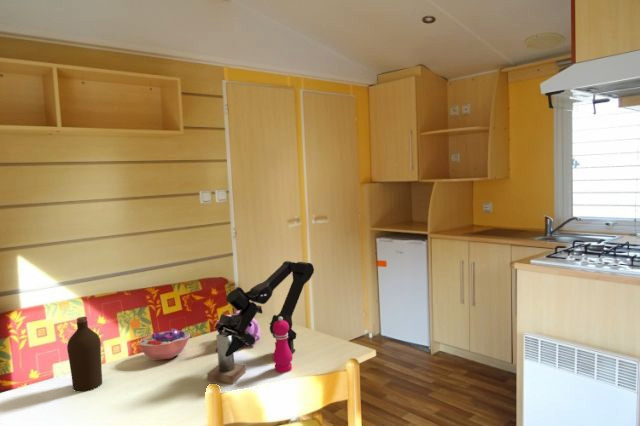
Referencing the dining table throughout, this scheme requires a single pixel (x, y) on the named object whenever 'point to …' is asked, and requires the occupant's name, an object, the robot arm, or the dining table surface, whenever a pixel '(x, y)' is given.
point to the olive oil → (85, 357)
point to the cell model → (164, 344)
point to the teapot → (251, 328)
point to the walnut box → (226, 374)
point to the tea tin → (224, 352)
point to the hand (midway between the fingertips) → (221, 354)
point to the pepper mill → (282, 347)
